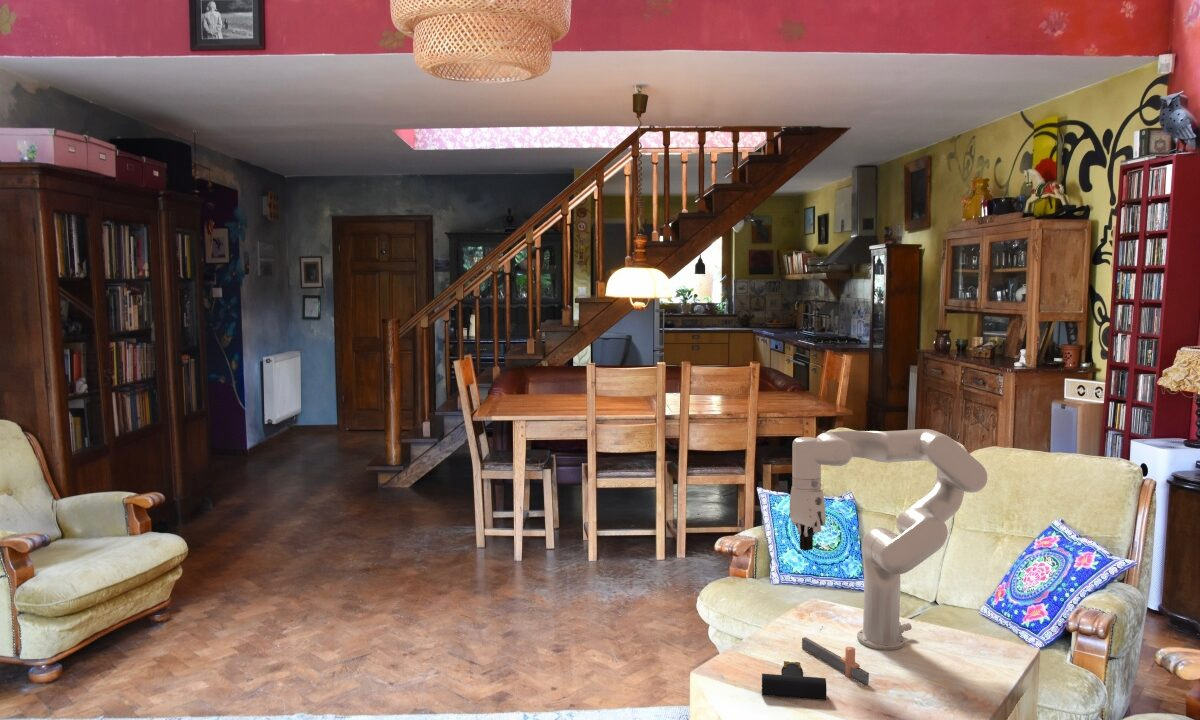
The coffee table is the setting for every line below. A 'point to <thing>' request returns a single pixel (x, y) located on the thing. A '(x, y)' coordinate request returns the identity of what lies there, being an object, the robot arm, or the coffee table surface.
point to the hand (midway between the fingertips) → (806, 549)
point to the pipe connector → (793, 683)
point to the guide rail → (838, 660)
